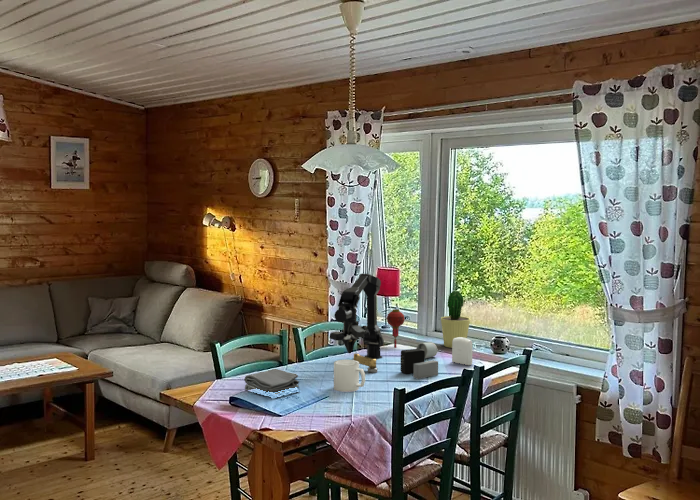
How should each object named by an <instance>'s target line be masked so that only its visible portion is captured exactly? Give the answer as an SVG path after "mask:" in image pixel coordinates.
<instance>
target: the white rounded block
mask: <svg viewBox="0 0 700 500" xmlns="http://www.w3.org/2000/svg"><path fill="white" fill-rule="evenodd" d="M473 346H474V345H473V341H472V340H471V339H469V338H468V337H467V338H463V337H457V338H454V339H453V341H452V348H451V362H452V363H454V362H455V364H459V363H460V365H464V364H465V365H466V366H471V365H472V364H473ZM465 365H464V366H465Z"/></svg>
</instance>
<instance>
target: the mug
mask: <svg viewBox="0 0 700 500" xmlns="http://www.w3.org/2000/svg"><path fill="white" fill-rule="evenodd" d="M360 376H361V381H360ZM365 383H366V373H365V371H364V368H360V364H359V362H358V361H355V360H354V359H337V360H335V361H334V362H333V390H334V391H337V392H342V393H351V392H356V391H358V390H359V389H360V388H362V387H364V386H365Z"/></svg>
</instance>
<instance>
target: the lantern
mask: <svg viewBox="0 0 700 500" xmlns="http://www.w3.org/2000/svg"><path fill="white" fill-rule="evenodd" d="M405 320H406V318H405V315H404V314H403V312H402V311H400V309H398V308H394V309H392V311H390V312H389V313H388V314H387V316H386V321H387V323H388V325H390V326H391V330H392V337H393V338H394V340H393V348H395V349H396V348H397V341H398V340H397V339H396V338H397V337H399V334H400V333H399V329H400V327H401V326H402V325H403V324H404V323H405Z"/></svg>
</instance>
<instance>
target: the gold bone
mask: <svg viewBox="0 0 700 500" xmlns="http://www.w3.org/2000/svg"><path fill="white" fill-rule="evenodd" d="M353 360H355V361H358V362H359V365H363V366H365V367H368V368H377V358H376V359H374V358H368V357H365V355H360V353H353Z"/></svg>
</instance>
